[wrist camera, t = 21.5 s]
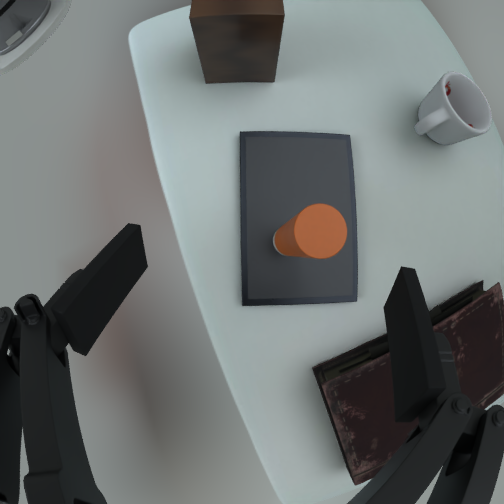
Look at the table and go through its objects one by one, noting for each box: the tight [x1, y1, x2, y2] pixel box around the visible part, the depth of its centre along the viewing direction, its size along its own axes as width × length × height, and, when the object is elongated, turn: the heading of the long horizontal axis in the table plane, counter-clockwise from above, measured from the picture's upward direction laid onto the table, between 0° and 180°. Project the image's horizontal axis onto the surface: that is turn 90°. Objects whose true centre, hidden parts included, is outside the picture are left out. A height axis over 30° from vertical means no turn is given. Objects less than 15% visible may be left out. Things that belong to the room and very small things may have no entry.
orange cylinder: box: [273, 203, 347, 259], centre depth 23 cm, size 3×3×14 cm
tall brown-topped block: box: [189, 0, 285, 84], centre depth 25 cm, size 8×8×12 cm
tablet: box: [240, 131, 358, 306], centre depth 30 cm, size 12×18×1 cm, turn 1°
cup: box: [414, 72, 492, 145], centre depth 27 cm, size 11×8×8 cm
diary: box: [312, 280, 504, 485], centre depth 29 cm, size 19×25×5 cm
